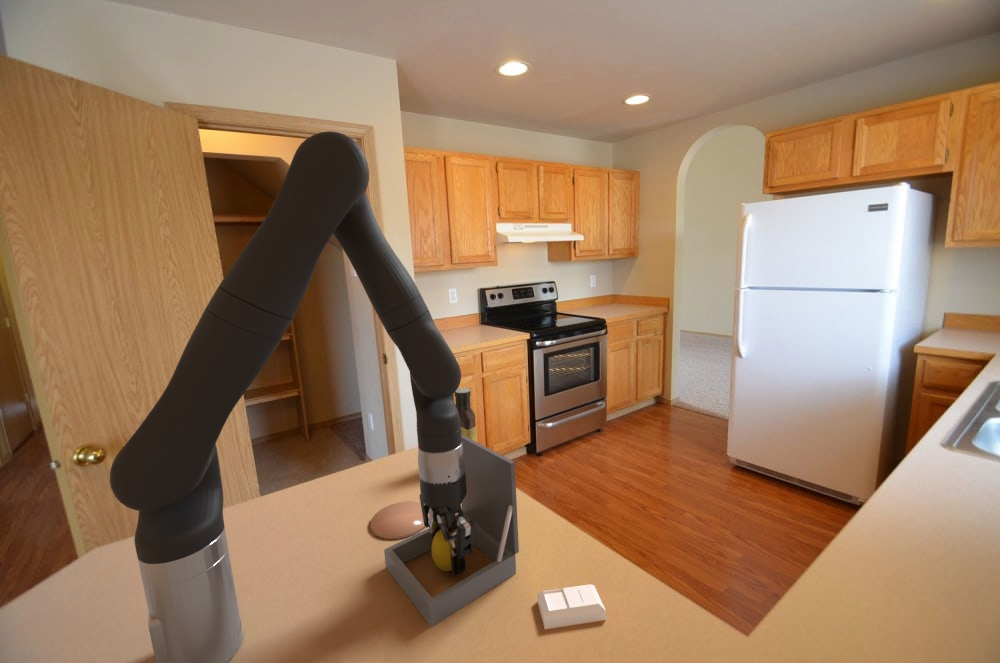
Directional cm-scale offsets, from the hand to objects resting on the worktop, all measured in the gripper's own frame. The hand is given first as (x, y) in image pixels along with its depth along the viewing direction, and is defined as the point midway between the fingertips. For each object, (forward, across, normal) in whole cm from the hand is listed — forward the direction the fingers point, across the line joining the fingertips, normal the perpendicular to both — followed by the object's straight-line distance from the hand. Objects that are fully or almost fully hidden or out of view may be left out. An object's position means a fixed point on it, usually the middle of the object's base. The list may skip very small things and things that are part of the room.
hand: (449, 562), depth 71 cm
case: (+1, 0, 0) cm, 1 cm away
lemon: (+2, 0, 0) cm, 2 cm away
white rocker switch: (+2, +19, +9) cm, 21 cm away
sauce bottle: (+2, -31, +24) cm, 39 cm away
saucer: (+1, -19, 0) cm, 19 cm away
